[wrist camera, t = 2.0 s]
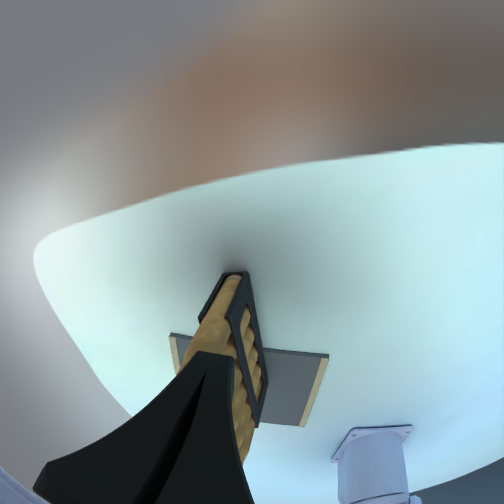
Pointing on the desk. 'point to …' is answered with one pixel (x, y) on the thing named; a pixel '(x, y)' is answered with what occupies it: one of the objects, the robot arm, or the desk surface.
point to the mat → (278, 381)
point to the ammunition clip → (235, 349)
